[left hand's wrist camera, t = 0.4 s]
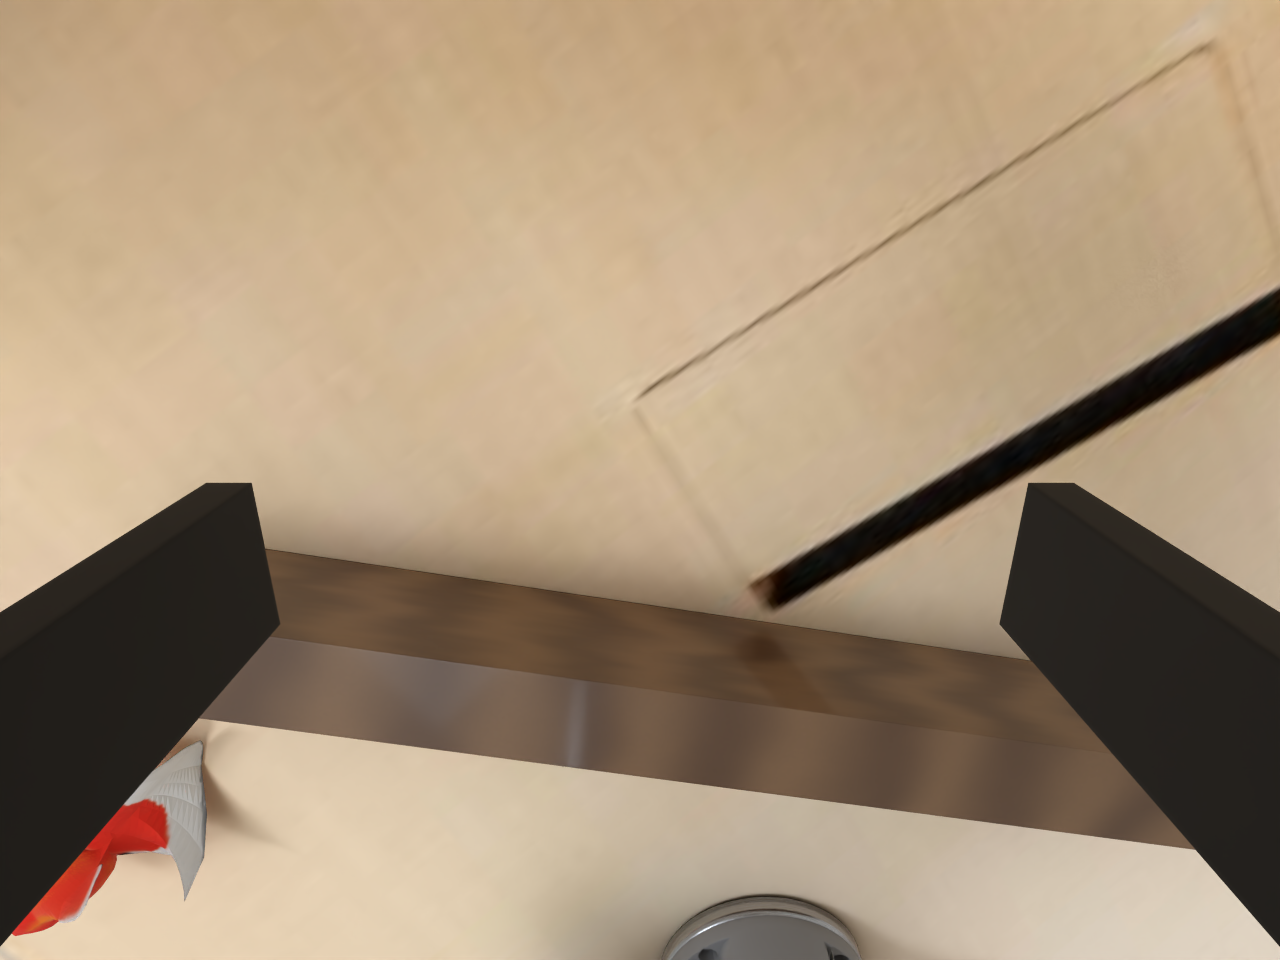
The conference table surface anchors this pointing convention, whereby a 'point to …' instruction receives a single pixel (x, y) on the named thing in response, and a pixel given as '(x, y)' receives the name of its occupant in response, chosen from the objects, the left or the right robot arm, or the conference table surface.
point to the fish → (136, 838)
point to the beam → (679, 699)
